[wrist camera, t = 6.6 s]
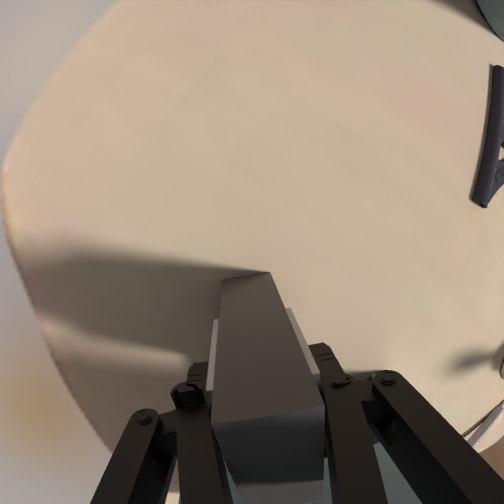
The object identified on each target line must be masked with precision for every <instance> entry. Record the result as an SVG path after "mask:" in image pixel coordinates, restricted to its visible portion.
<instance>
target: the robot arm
mask: <svg viewBox="0 0 504 504" xmlns="http://www.w3.org/2000/svg"><path fill="white" fill-rule="evenodd" d="M285 309H286V312H287V314H288V317H289V319H290V321H291V324H292V326H293V329H294V331H295V334H296V336H297V338H298V341H299V343H300V346H301V348H302V351H303V353H304V355H305V358H306V360H307V363H308V365H309V368H310V370H311V373H312V375H313V377H314V380H315V382H316V385H317V387H318V390H319V392H320V395H321V397H322V400H323V402H324V405H325V443H326V451H327V460H328V468H329V478H330V487H331V497H332V504H388V501H387V496H386V492H385V488H384V484H383V480H382V476H381V472H380V468H379V464H378V460H377V457H376V453H375V449H374V446H373V442H372V438H371V435H370V431H369V428H368V425H369V427H370V428H371V430H372V431H373V433H374V434H375V436H376V437H377V439H378V440H379V442H380V443H381V444H382V446H383V447H384V449H385V450H386V452H387V453H388V455H389V456H390V458H391V459H392V461H393V462H394V463H395V465H396V466H397V468H398V469H399V471H400V472H401V474H402V475H403V477H404V478H405V479H406V481H407V482H408V484H409V485H410V487H411V488H412V490H413V491H414V493H415V494H416V496H417V497H418V498H419V500H420V501H421V503H422V504H504V480H503V479H502V478H501V477H500V476H499V475H498V474H497V473H496V472H495V471H494V470H493V469H492V467H490V465H489V464H488V463H487V462H486V461H485V460H484V459H483V458H482V457H481V456H480V455H479V454H478V453H477V452H476V451H475V450H474V449H473V447H472V446H471V445H470V444H469V443H468V442H467V441H466V440H465V439H464V438H463V437H462V436H461V435H460V434H459V433H458V432H457V431H456V430H455V429H454V428H453V427H452V426H451V425H450V424H449V423H448V422H447V421H446V420H445V419H444V418H443V417H442V416H441V414H440V413H439V412H438V411H437V410H436V409H435V408H434V407H433V406H432V405H431V404H430V403H429V402H428V401H427V400H426V399H425V398H424V397H423V396H422V395H421V394H420V393H419V392H418V391H417V390H416V389H415V388H414V387H413V386H412V385H411V384H410V383H409V382H408V381H407V380H406V379H405V378H404V377H403V376H402V375H401V374H399V373H398V372H396V371H392V370H385V371H381V372H379V373H377V374H376V375H375V376H374V377H373V381H356V380H354V379H353V378H352V377H351V376H350V375H348V374H345V373H344V371H343V369H342V367H341V366H340V364H339V362H338V360H337V359H336V357H335V355H334V353H333V352H332V350H331V348H330V347H329V346H328V345H326V344H325V343H318V344H313V345H307V343H306V340H305V338H304V336H303V334H302V332H301V329H300V327H299V325H298V323H297V321H296V318H295V316H294V314H293V312H292V310H291V308H285ZM218 320H219V319H214V322H213V330H212V339H211V347H210V356H209V362H200V363H194V364H193V365H192V366H191V367H190V369H189V371H188V377H187V382H183V383H180V384H178V385H176V386H175V387H174V388H173V389H172V390H171V393H170V394H171V397H172V399H173V402H174V404H175V407H176V409H175V410H173V411H170V412H168V413H164V414H160V415H159V414H158V412H157V411H155V410H154V409H142V410H139V411H137V412H135V413H134V414H133V415H132V416H131V418H130V420H129V422H128V424H127V426H126V428H125V430H124V432H123V434H122V436H121V438H120V440H119V442H118V444H117V446H116V448H115V451H114V453H113V455H112V457H111V459H110V461H109V463H108V465H107V468H106V470H105V472H104V474H103V476H102V478H101V481H100V483H99V485H98V487H97V490H96V492H95V494H94V496H93V498H92V500H91V503H90V504H165V501H166V497H167V494H168V490H169V486H170V482H171V478H172V475H173V471H174V467H175V464H176V460H177V455H178V472H179V486H180V498H181V504H234V503H233V499H232V495H231V491H230V486H229V482H228V478H227V473H226V469H225V464H224V459H223V455H222V452H221V450H220V447H219V445H218V442H217V439H216V437H215V434H214V431H213V429H212V426H211V410H212V395H213V381H214V368H215V356H216V343H217V332H218Z"/></svg>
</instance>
